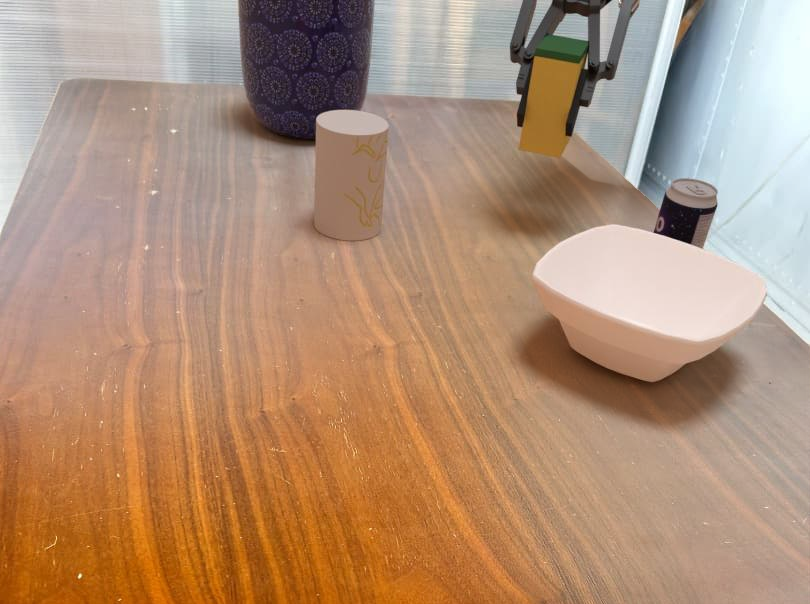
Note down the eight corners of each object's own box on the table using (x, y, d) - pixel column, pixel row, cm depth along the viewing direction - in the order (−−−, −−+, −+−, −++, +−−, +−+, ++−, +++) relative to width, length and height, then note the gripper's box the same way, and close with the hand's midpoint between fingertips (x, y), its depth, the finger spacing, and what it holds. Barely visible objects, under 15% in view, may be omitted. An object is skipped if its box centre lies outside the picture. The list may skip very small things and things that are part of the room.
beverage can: (669, 277, 105) (702, 175, 96) (696, 300, 101) (732, 196, 93) (628, 281, 103) (658, 177, 95) (654, 304, 99) (687, 199, 91)
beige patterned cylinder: (356, 247, 103) (362, 140, 95) (300, 226, 106) (301, 121, 97) (393, 225, 108) (402, 122, 100) (339, 206, 111) (343, 104, 103)
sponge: (569, 139, 107) (590, 41, 100) (560, 158, 102) (581, 55, 95) (529, 132, 108) (547, 33, 101) (518, 149, 103) (535, 47, 96)
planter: (310, 98, 140) (313, -56, 126) (392, 134, 132) (404, -26, 118) (216, 118, 130) (207, -47, 116) (298, 158, 121) (299, -15, 107)
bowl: (759, 354, 93) (790, 279, 87) (680, 439, 80) (711, 358, 74) (587, 286, 101) (605, 213, 95) (491, 353, 88) (505, 273, 82)
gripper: (671, -32, 103) (619, 157, 103) (522, -55, 106) (470, 128, 105) (682, -81, 96) (625, 122, 95) (521, -105, 99) (465, 92, 98)
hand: (544, 124), depth 100 cm, fingers closed on sponge, 5 cm apart
